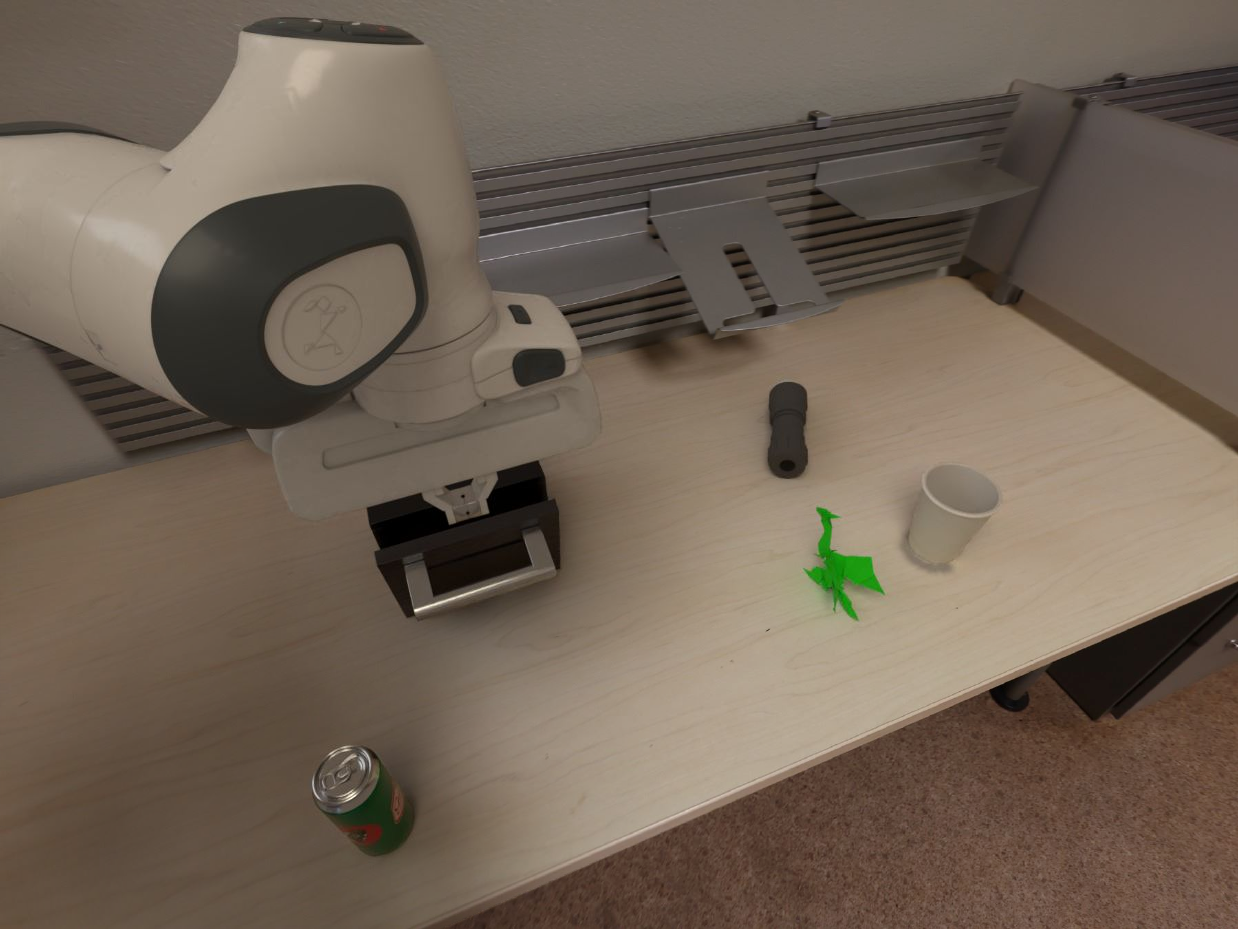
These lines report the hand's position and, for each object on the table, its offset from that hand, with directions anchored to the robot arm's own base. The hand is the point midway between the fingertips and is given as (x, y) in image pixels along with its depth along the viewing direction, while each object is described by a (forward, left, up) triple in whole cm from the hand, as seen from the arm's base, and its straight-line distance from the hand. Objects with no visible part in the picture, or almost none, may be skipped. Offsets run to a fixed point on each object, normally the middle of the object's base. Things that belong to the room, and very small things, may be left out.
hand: (467, 513), depth 47 cm
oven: (+13, +17, -27) cm, 35 cm away
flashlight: (+49, -11, -27) cm, 57 cm away
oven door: (+7, +8, -27) cm, 29 cm away
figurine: (+28, -24, -27) cm, 46 cm away
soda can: (-16, +2, -27) cm, 32 cm away
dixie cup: (+40, -33, -27) cm, 59 cm away
